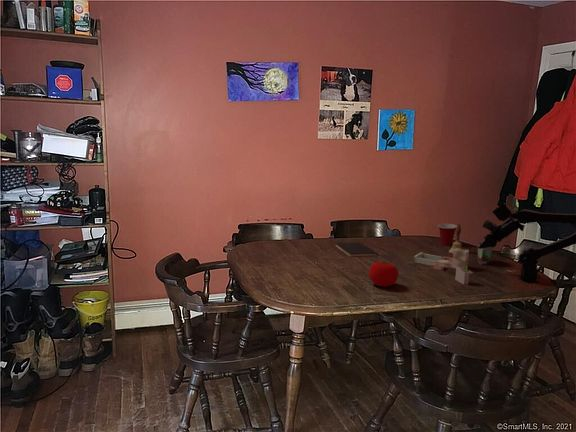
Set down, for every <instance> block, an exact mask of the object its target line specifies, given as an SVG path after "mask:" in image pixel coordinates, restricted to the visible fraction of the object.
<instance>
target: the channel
mask: <svg viewBox="0 0 576 432" xmlns="http://www.w3.org/2000/svg"><path fill="white" fill-rule="evenodd" d="M442 258H443V256H441V255H435V254H434V255H433V254H428V253H424V251H421V252H419V253H417V254H416V255H414V256H413V263H417V264H422V265H427V266H432V265H433V264H435V263H436V261H437V260H438V259H442Z"/></svg>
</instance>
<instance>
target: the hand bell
mask: <svg viewBox="0 0 576 432" xmlns="http://www.w3.org/2000/svg"><path fill="white" fill-rule="evenodd" d="M461 231H462V227H461V224H459V223H458V224H457V227H456V230H455V234H456V236H455V241H454V242H452V244H451V248H450V249H449V250H448V253H450V254H453V251H454V250H455V249H456V248H458V249H463V248H462V247H463V245H462V243H461V242H460V235H461Z"/></svg>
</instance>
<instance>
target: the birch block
mask: <svg viewBox="0 0 576 432" xmlns="http://www.w3.org/2000/svg"><path fill="white" fill-rule="evenodd" d="M469 255H470V250H469V249H464V248H462V249H458V248H456V249H455V250H454V251H453V253H452V258H453V261H448V260H443V259H438V260H437V261H436V263H437V266H443V265H445V268H450V269H456V268H458V269H460V270H462V269H461V268H463V269H464V270H465V267H466V266H467V267H468V265H469ZM464 270H462V271H464Z"/></svg>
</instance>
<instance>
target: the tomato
mask: <svg viewBox="0 0 576 432" xmlns="http://www.w3.org/2000/svg"><path fill="white" fill-rule="evenodd" d="M368 276H369V277H368V278H369V279H370V281H371V282H372V284H373V285H374V284H375V285H376V286H378V287H382V288H384V287H385V288H387V287H390V286H392V285H394V284H395V283H397V281H398V278H399V270H398V267H397V266H396V265H395V264H394V263H391V262H388V261H386V260H384V261H381V260H380V261H375V262H374V263H373V264H372V265H371V266H370V267H369V271H368Z"/></svg>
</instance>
